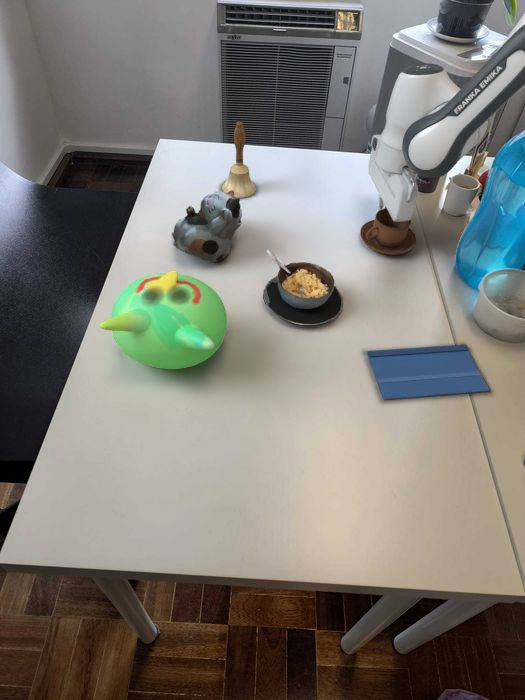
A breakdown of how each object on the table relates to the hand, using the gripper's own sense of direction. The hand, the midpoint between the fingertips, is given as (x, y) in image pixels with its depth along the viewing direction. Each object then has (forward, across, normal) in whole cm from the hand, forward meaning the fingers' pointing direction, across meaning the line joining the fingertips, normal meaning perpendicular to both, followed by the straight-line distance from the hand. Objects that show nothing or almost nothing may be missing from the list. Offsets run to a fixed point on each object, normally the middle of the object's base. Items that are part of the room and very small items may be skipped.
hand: (382, 215), depth 104 cm
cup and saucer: (+3, -6, 0) cm, 7 cm away
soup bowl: (+3, -23, +22) cm, 32 cm away
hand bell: (+3, +17, +30) cm, 35 cm away
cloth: (+3, -42, +4) cm, 42 cm away
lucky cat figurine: (+3, -5, +39) cm, 40 cm away
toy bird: (+3, -34, +46) cm, 57 cm away
